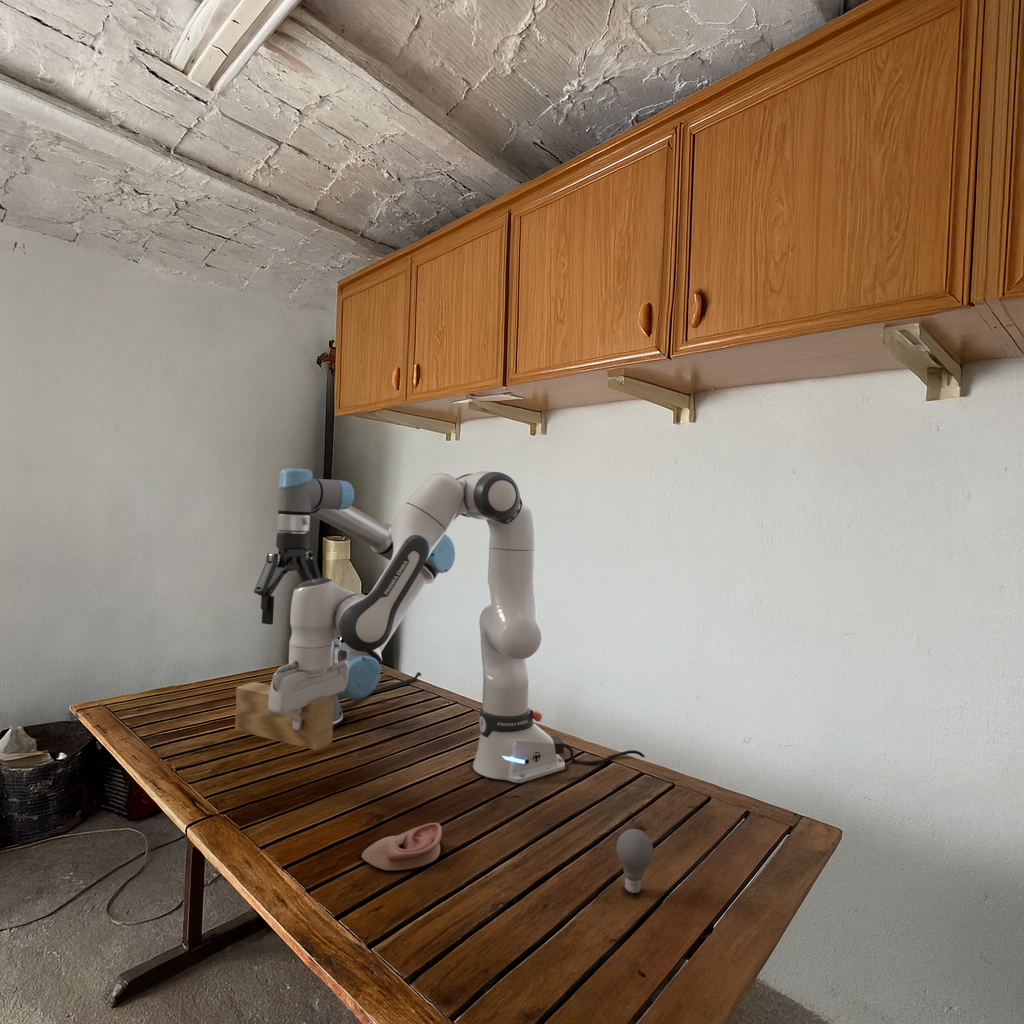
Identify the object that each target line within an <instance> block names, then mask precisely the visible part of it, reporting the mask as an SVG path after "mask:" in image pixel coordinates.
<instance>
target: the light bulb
mask: <svg viewBox="0 0 1024 1024" xmlns="http://www.w3.org/2000/svg"><path fill="white" fill-rule="evenodd" d="M615 849H616V854H617V857H618V859H619V861H620V863H621V865H622V867H623V873H624V874H623V875H624V876H625V878H624V888H625V890H627V891H628V892H630V893H634V894H635V893H639V892H640V891H641V889H642V887H641V886H642V879H643V877H644V875H645V871H646V868H647V867H648V866H649V864H650V863H651V861H652V859H653V855H654V847H653V843H652V841H651V838H649V836H648V835H647V834H646V833H645V832H643V831H642V830H641V829H636V828H629V829H627V830H625V831H623V832H622V833H621V834H620V835H619V837H618V839H617V841H616V847H615Z"/></svg>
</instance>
